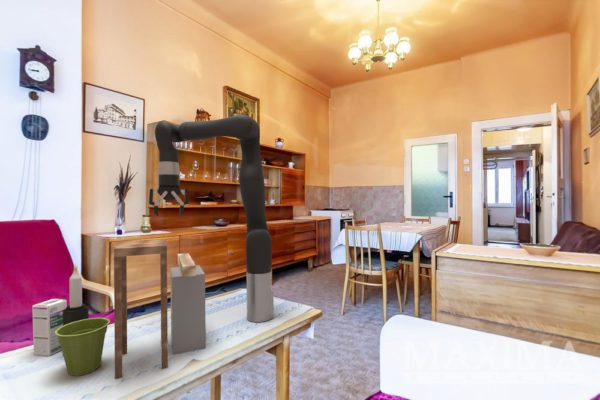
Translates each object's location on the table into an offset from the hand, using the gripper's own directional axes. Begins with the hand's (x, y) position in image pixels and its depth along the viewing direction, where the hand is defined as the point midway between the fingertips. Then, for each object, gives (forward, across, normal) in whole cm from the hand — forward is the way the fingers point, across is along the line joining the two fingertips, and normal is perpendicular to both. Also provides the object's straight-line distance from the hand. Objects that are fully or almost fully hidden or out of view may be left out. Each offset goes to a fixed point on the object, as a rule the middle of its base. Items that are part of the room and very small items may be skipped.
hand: (169, 215), depth 121 cm
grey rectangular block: (+38, +4, -29) cm, 48 cm away
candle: (+38, -26, -22) cm, 51 cm away
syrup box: (+38, -33, -18) cm, 54 cm away
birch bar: (+16, +4, -25) cm, 30 cm away
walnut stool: (+38, -8, -36) cm, 53 cm away
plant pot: (+38, -22, -34) cm, 56 cm away
